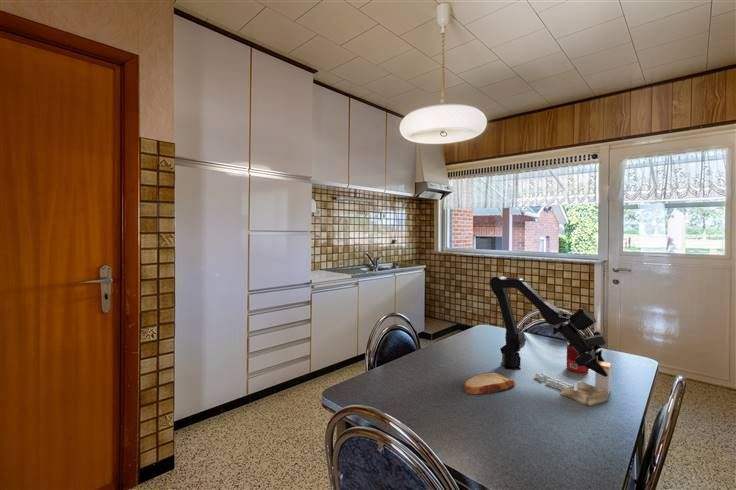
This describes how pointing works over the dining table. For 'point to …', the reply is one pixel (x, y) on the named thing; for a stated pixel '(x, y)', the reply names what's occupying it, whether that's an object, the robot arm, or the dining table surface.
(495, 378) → the bread slice
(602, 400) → the holder
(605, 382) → the orange-topped block
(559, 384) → the clip
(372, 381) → the dining table surface
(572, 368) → the canned food
